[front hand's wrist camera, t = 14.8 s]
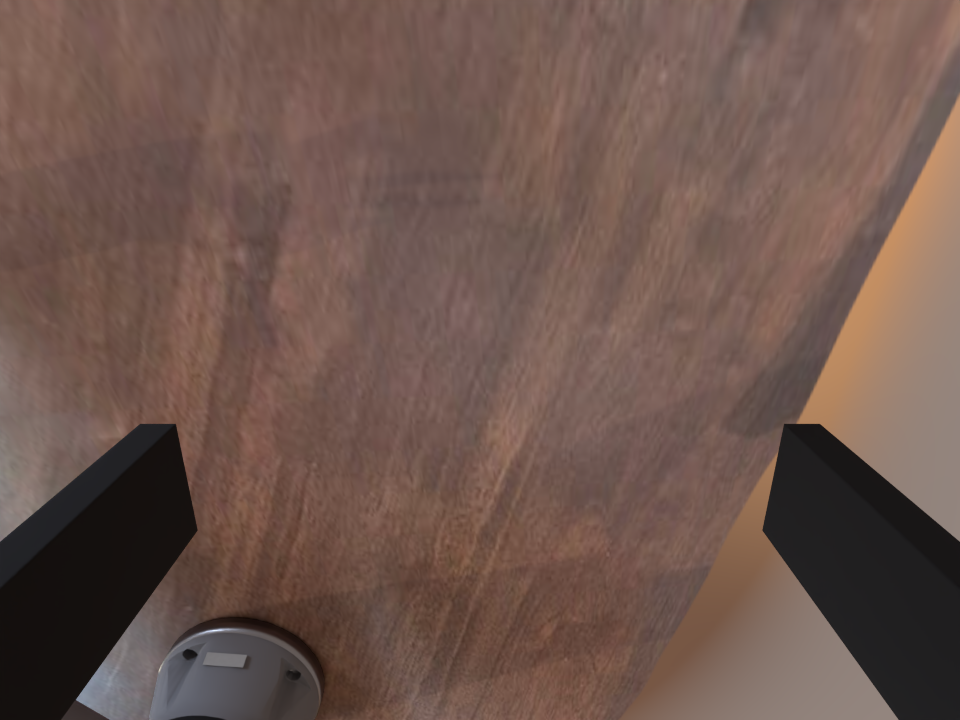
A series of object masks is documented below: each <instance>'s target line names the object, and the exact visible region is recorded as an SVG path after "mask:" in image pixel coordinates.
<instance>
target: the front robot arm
mask: <svg viewBox="0 0 960 720" xmlns="http://www.w3.org/2000/svg"><path fill="white" fill-rule="evenodd" d="M196 532H197V525H196V520H195V516H194V511H193V506H192V501H191V496H190V491H189V486H188V481H187V477H186V472H185V467H184V462H183V457H182V452H181V447H180V442H179V437H178V433H177V428H176V424H140V425H138V426H137V427H136V428H135V429H134V430H133V431H131V432H130V433H129V434H128V435H127V436H125V437H124V438H123V439H122V440H121V441H119V442H118V443H117V444H116V445H115V446H113V447H112V448H111V449H110V450H109V451H108V452H106V453H105V454H104V455H103V456H102V457H100V458H99V459H98V460H97V461H96V462H94V463H93V464H92V465H91V466H90V467H89V468H87V469H86V470H85V471H84V472H83V473H81V474H80V475H79V476H78V477H77V478H75V479H74V480H73V481H72V482H71V483H70V484H68V485H67V486H66V487H65V488H64V489H62V490H61V491H60V492H59V493H58V494H56V495H55V496H54V497H53V498H52V499H51V500H49V501H48V502H47V503H46V504H45V505H43V506H42V507H41V508H40V509H39V510H37V511H36V512H35V513H34V514H33V515H32V516H30V517H29V518H28V519H27V520H26V521H24V522H23V523H22V524H21V525H20V526H18V527H17V528H16V529H15V530H14V531H13V532H11V533H10V534H9V535H8V536H7V537H5V538H4V539H3V540H2V541H1V542H0V720H109V719H107V718H106V717H104V716H102V715H100V714H99V713H97V712H95V711H94V710H92V709H90V708H88V707H87V706H85V705H83V704H82V703H80V702H78V701H76V699H77V697H78V696H79V694H80V693H81V692H82V690H83V689H84V687H85V686H86V685H87V683H88V682H89V680H90V679H91V678H92V676H93V675H94V674H95V672H96V671H97V669H98V668H99V667H100V665H101V664H102V662H103V661H104V660H105V658H106V657H107V655H108V654H109V653H110V651H111V650H112V649H113V647H114V646H115V644H116V643H117V642H118V640H119V639H120V637H121V636H122V635H123V633H124V632H125V630H126V629H127V628H128V626H129V625H130V624H131V622H132V621H133V619H134V618H135V617H136V615H137V614H138V612H139V611H140V610H141V608H142V607H143V605H144V604H145V603H146V601H147V600H148V599H149V597H150V596H151V594H152V593H153V592H154V590H155V589H156V587H157V586H158V585H159V583H160V582H161V580H162V579H163V578H164V576H165V575H166V574H167V572H168V571H169V569H170V568H171V567H172V565H173V564H174V562H175V561H176V560H177V558H178V557H179V555H180V554H181V553H182V551H183V550H184V549H185V547H186V546H187V544H188V543H189V542H190V540H191V539H192V537H193V536H194V535H195V533H196ZM763 532H764V533H765V535H766V536H767V537H768V539H769V540H770V541H771V543H772V544H773V546H774V547H775V548H776V550H777V551H778V553H779V554H780V555H781V557H782V558H783V560H784V561H785V562H786V564H787V565H788V567H789V568H790V569H791V571H792V572H793V573H794V575H795V576H796V578H797V579H798V580H799V582H800V583H801V585H802V586H803V587H804V589H805V590H806V592H807V593H808V594H809V596H810V597H811V598H812V600H813V601H814V603H815V604H816V605H817V607H818V608H819V610H820V611H821V612H822V614H823V615H824V617H825V618H826V619H827V621H828V622H829V624H830V625H831V626H832V628H833V629H834V630H835V632H836V633H837V635H838V636H839V637H840V639H841V640H842V642H843V643H844V644H845V646H846V647H847V649H848V650H849V651H850V653H851V654H852V655H853V657H854V658H855V660H856V661H857V662H858V664H859V665H860V667H861V668H862V669H863V671H864V672H865V674H866V675H867V676H868V678H869V679H870V680H871V682H872V683H873V685H874V686H875V687H876V689H877V690H878V692H879V693H880V694H881V696H882V697H883V699H884V700H885V701H886V703H887V704H888V705H889V707H890V708H891V710H892V711H893V712H894V714H895V715H896V717H897V718H898V719H899V720H960V542H959V541H958V540H957V539H956V538H955V537H953V536H952V535H951V534H950V533H949V532H947V531H946V530H945V529H944V528H943V527H942V526H940V525H939V524H938V523H937V522H936V521H934V520H933V519H932V518H931V517H930V516H928V515H927V514H926V513H925V512H924V511H923V510H921V509H920V508H919V507H918V506H917V505H915V504H914V503H913V502H912V501H911V500H909V499H908V498H907V497H906V496H905V495H904V494H902V493H901V492H900V491H899V490H897V489H896V488H895V487H894V486H893V485H892V484H890V483H889V482H888V481H887V480H886V479H885V478H883V477H882V476H881V475H880V474H879V473H877V472H876V471H875V470H874V469H873V468H871V467H870V466H869V465H868V464H867V463H865V462H864V461H863V460H862V459H861V458H860V457H858V456H857V455H856V454H855V453H854V452H852V451H851V450H850V449H849V448H848V447H846V446H845V445H844V444H843V443H842V442H841V441H839V440H838V439H837V438H836V437H835V436H833V435H832V434H831V433H830V432H829V431H827V430H826V429H825V428H824V427H823V426H822V425H820V424H784V428H783V433H782V437H781V442H780V447H779V452H778V457H777V462H776V467H775V472H774V477H773V481H772V486H771V491H770V496H769V501H768V506H767V511H766V516H765V520H764V525H763ZM323 692H324V675H323V671H322V668H321V666H320V664H319V662H318V660H317V658H316V657H315V655H314V654H313V652H312V651H311V650H310V649H309V648H308V647H307V646H306V645H305V644H304V643H303V642H302V641H301V640H300V639H298V638H297V637H295V636H294V635H293V634H291V633H289V632H288V631H286V630H284V629H282V628H280V627H277V626H275V625H272V624H269V623H266V622H263V621H259V620H254V619H247V618H222V619H216V620H211V621H207V622H204V623H201V624H199V625H197V626H195V627H193V628H191V629H189V630H188V631H187V632H185V633H184V634H183V635H182V636H181V637H179V638H178V640H177V641H176V642H175V643H174V645H173V646H172V648H171V650H170V651H169V653H168V655H167V656H166V658H165V660H164V661H163V663H162V665H161V667H160V670H159V673H158V678H157V683H156V688H155V692H154V697H153V702H152V707H151V712H150V716H149V720H315V718H316V716H317V714H318V710H319V707H320V703H321V700H322V696H323Z"/></svg>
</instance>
